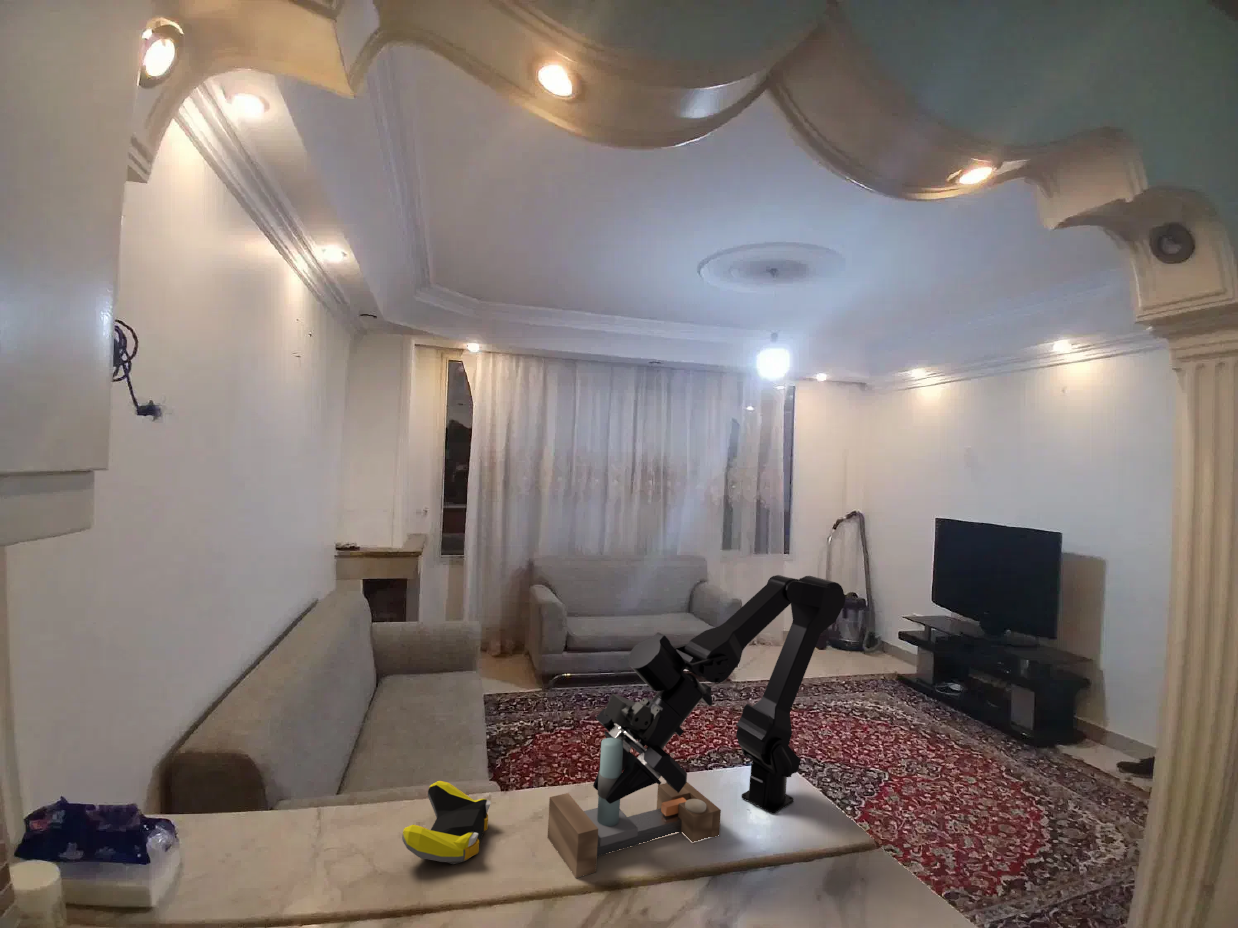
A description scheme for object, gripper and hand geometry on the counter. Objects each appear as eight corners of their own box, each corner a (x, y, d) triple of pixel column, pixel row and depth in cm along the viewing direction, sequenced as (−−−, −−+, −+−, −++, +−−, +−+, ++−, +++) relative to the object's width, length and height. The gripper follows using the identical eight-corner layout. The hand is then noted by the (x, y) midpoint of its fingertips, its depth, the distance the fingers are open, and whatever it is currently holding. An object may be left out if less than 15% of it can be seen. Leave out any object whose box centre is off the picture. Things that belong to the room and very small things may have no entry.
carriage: (614, 811, 99) (618, 729, 98) (637, 836, 93) (642, 749, 92) (578, 819, 96) (583, 735, 96) (600, 846, 90) (605, 756, 89)
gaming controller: (395, 873, 86) (470, 878, 85) (397, 832, 86) (472, 836, 85) (430, 810, 101) (494, 814, 100) (432, 776, 101) (496, 779, 100)
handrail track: (687, 813, 104) (688, 801, 103) (702, 826, 100) (703, 813, 100) (561, 846, 93) (562, 833, 93) (573, 862, 89) (574, 848, 89)
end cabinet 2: (682, 802, 107) (683, 775, 107) (719, 835, 98) (721, 806, 98) (656, 809, 104) (658, 781, 104) (692, 843, 95) (694, 813, 95)
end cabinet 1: (566, 832, 97) (568, 792, 96) (595, 872, 88) (598, 828, 88) (547, 837, 95) (549, 796, 95) (575, 877, 86) (578, 833, 86)
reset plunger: (682, 806, 101) (683, 797, 101) (687, 810, 100) (688, 801, 100) (661, 811, 99) (661, 802, 99) (666, 816, 98) (666, 807, 98)
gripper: (609, 657, 104) (542, 735, 99) (673, 698, 88) (597, 795, 82) (648, 698, 108) (585, 776, 103) (717, 746, 91) (646, 841, 86)
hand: (601, 794), depth 93 cm, fingers closed on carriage, 3 cm apart
